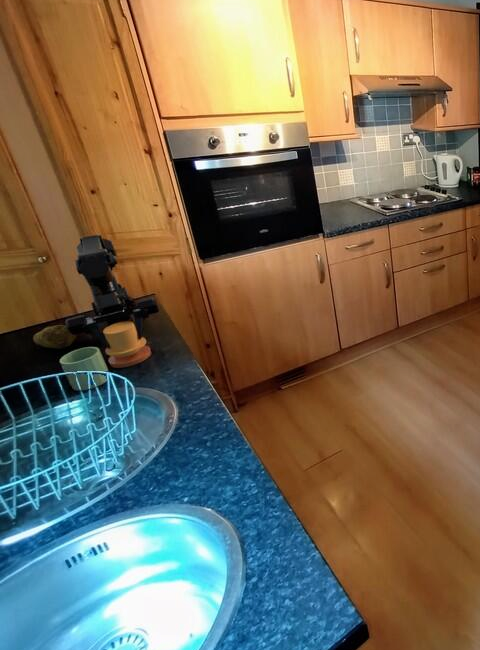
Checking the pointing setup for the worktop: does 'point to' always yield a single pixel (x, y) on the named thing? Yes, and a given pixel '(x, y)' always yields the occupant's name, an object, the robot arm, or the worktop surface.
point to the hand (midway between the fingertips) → (124, 343)
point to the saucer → (130, 358)
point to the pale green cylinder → (84, 366)
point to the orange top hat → (123, 339)
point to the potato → (54, 337)
